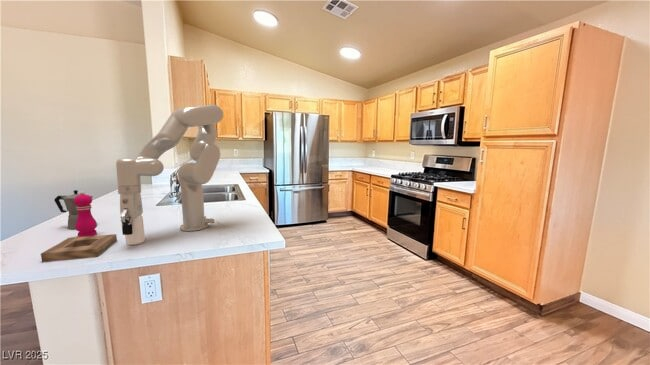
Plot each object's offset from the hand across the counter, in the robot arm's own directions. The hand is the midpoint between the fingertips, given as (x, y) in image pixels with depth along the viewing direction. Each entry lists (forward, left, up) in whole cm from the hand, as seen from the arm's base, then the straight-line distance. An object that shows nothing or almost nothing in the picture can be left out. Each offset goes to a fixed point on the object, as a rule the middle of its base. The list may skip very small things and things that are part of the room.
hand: (132, 230), depth 109 cm
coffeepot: (+33, -31, -6) cm, 46 cm away
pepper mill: (+22, -15, -6) cm, 28 cm away
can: (-1, 0, -6) cm, 6 cm away
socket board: (+15, +4, -5) cm, 17 cm away
